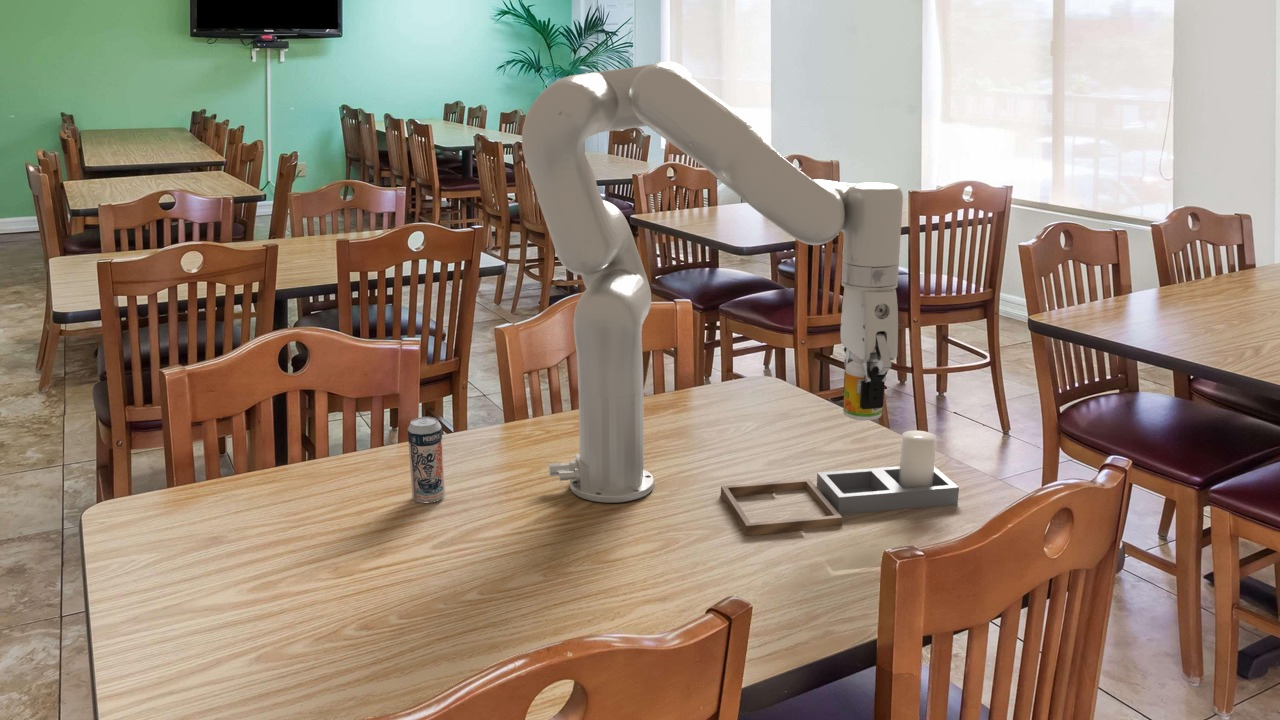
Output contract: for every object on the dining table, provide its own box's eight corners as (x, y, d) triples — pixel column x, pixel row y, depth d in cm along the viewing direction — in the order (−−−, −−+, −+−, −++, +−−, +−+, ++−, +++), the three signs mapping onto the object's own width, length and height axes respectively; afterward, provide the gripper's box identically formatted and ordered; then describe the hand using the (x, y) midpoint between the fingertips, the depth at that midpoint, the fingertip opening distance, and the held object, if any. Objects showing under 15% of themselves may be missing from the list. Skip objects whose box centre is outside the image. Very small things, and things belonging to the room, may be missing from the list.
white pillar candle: (906, 501, 156) (910, 443, 153) (892, 488, 161) (896, 431, 158) (937, 499, 157) (942, 441, 154) (923, 486, 161) (927, 429, 159)
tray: (746, 535, 147) (746, 525, 146) (720, 495, 159) (720, 485, 159) (841, 527, 149) (842, 517, 149) (809, 488, 162) (809, 478, 161)
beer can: (413, 506, 156) (408, 428, 153) (411, 493, 160) (405, 417, 157) (447, 503, 157) (442, 425, 154) (444, 490, 162) (439, 414, 158)
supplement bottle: (841, 408, 156) (844, 343, 153) (879, 409, 156) (883, 344, 153) (844, 420, 151) (848, 354, 148) (883, 421, 151) (888, 354, 148)
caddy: (838, 516, 152) (839, 497, 151) (816, 491, 161) (817, 472, 160) (957, 506, 155) (959, 487, 155) (929, 482, 164) (931, 463, 163)
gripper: (922, 287, 140) (913, 419, 145) (871, 261, 156) (864, 380, 162) (867, 290, 139) (860, 423, 144) (822, 263, 155) (816, 384, 160)
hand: (862, 399), depth 153 cm, fingers closed on supplement bottle, 5 cm apart
